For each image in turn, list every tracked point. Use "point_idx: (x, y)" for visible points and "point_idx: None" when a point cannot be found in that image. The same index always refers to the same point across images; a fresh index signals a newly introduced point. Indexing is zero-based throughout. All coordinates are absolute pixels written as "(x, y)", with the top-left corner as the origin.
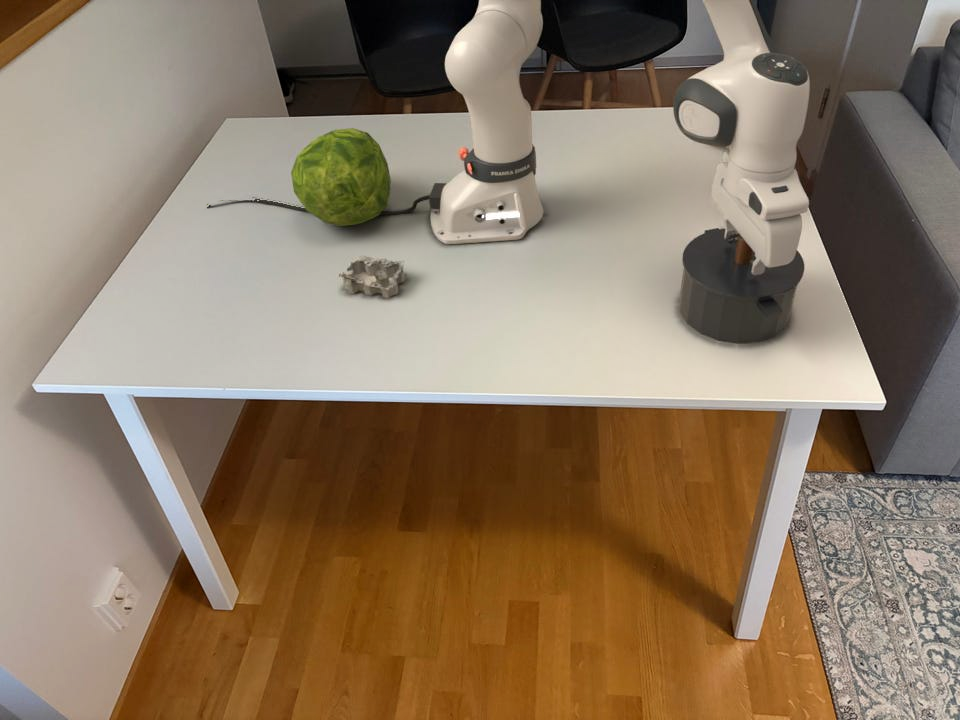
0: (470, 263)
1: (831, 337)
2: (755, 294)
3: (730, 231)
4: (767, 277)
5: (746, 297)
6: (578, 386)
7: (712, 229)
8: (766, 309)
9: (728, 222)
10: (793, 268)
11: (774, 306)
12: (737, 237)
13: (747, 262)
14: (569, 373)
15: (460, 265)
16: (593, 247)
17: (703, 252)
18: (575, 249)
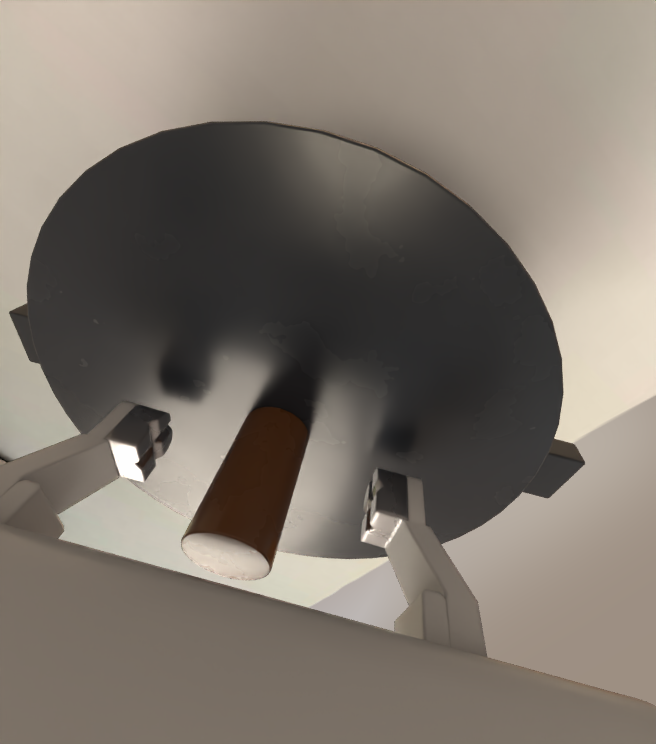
0: (80, 525)
1: (629, 117)
2: (476, 518)
3: (116, 466)
4: (429, 439)
5: (462, 533)
6: (362, 563)
7: (22, 336)
8: (532, 491)
9: (64, 501)
10: (461, 305)
11: (545, 469)
12: (150, 430)
13: (306, 443)
14: (335, 558)
15: (84, 532)
16: (38, 403)
17: (186, 480)
18: (45, 427)
